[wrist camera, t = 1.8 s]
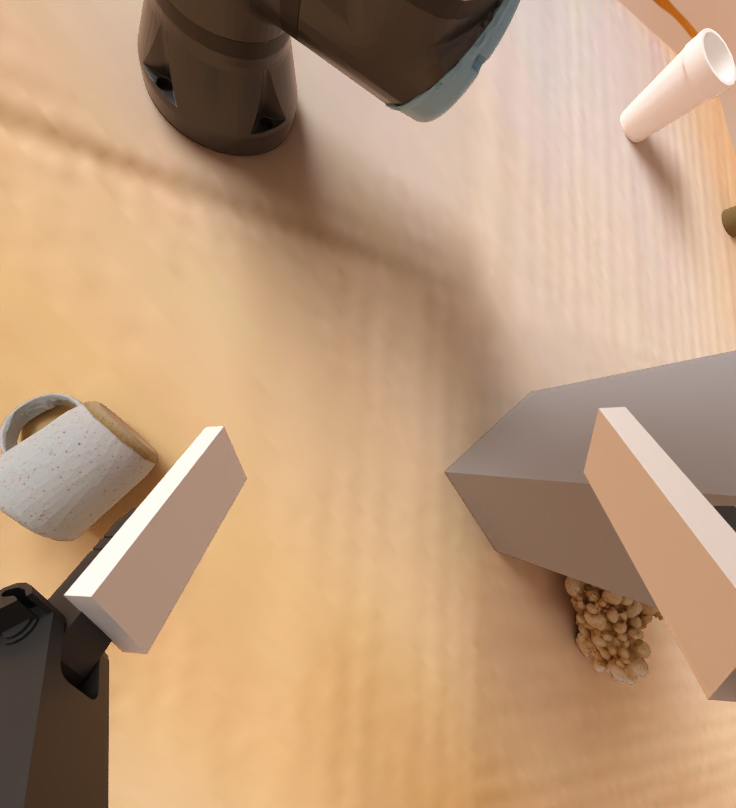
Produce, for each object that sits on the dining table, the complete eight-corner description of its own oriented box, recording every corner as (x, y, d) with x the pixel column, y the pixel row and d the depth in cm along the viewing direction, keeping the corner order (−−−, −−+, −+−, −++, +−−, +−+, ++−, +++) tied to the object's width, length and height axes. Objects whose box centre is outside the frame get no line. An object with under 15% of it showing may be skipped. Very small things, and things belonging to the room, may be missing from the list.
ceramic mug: (172, 458, 32) (156, 458, 25) (91, 532, 29) (47, 556, 22) (75, 374, 31) (29, 349, 24) (-21, 444, 28) (-106, 440, 21)
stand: (495, 550, 44) (955, 714, 16) (444, 471, 43) (848, 505, 15) (573, 462, 51) (991, 472, 23) (531, 391, 49) (919, 313, 22)
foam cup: (633, 100, 69) (719, 26, 57) (654, 145, 70) (743, 81, 58) (607, 107, 65) (693, 30, 53) (628, 154, 66) (718, 88, 54)
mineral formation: (580, 673, 46) (533, 581, 44) (615, 595, 53) (575, 512, 51) (655, 707, 40) (603, 601, 37) (683, 613, 47) (641, 519, 45)
